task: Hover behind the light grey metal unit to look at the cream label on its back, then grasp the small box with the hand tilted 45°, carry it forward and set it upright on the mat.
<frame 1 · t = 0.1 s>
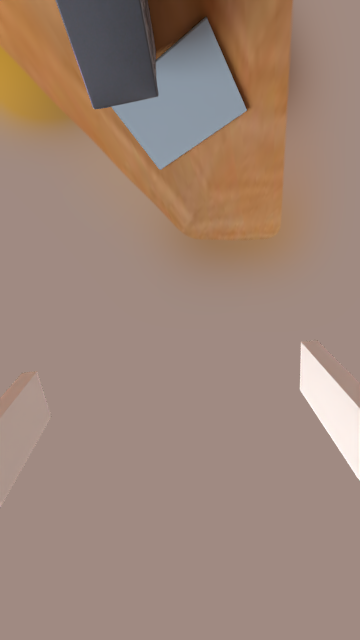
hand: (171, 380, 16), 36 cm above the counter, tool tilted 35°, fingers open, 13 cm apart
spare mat: (179, 104, 38), on the counter
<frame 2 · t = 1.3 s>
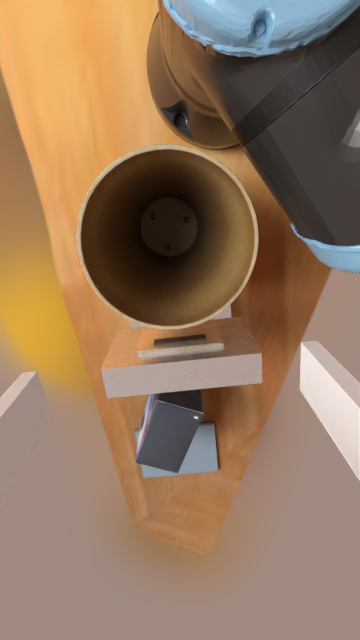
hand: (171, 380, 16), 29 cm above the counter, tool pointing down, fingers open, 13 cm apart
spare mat: (177, 449, 54), on the counter
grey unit: (179, 309, 45), on the counter
plant pot: (170, 228, 41), on the counter
small box: (169, 391, 50), on the counter
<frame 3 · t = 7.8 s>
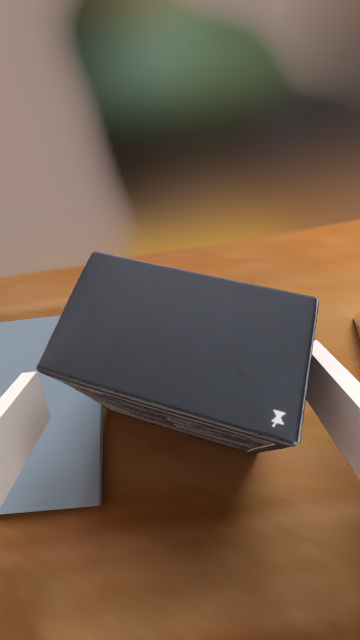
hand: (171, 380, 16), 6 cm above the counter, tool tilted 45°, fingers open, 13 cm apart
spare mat: (33, 405, 22), on the counter
small box: (191, 386, 22), on the counter, touching gripper
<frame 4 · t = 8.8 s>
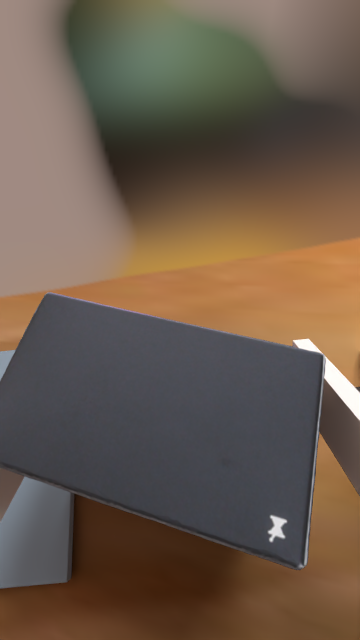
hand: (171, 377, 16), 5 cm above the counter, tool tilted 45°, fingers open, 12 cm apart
small box: (177, 431, 20), on the counter, touching gripper
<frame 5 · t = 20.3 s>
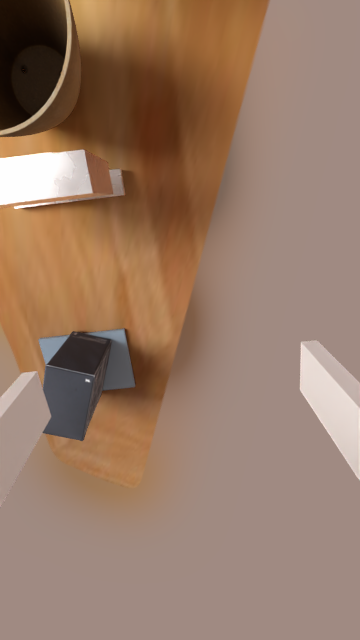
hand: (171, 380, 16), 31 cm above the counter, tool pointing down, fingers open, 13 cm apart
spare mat: (89, 362, 50), on the counter
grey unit: (70, 189, 41), on the counter
plant pot: (48, 88, 37), on the counter
small box: (86, 363, 50), resting on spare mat
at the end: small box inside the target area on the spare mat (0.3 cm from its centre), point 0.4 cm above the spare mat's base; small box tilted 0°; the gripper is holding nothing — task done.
